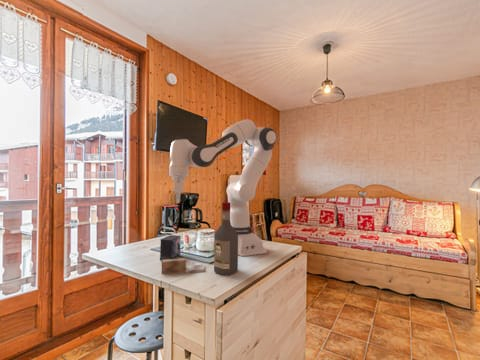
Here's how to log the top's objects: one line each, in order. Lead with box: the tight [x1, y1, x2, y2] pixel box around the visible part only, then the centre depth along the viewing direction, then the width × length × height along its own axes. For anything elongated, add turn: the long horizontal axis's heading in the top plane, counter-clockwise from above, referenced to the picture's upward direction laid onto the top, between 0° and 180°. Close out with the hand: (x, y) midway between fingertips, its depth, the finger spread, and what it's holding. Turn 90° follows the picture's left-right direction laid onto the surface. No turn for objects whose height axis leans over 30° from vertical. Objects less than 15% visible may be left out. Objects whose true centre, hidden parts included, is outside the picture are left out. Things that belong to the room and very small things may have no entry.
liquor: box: [213, 201, 239, 277], centre depth 107 cm, size 9×9×30 cm
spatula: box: [161, 257, 206, 275], centre depth 108 cm, size 18×6×5 cm, turn 104°
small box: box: [159, 234, 181, 261], centre depth 126 cm, size 11×6×10 cm, turn 168°
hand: (177, 202), depth 116 cm, fingers open, 8 cm apart
